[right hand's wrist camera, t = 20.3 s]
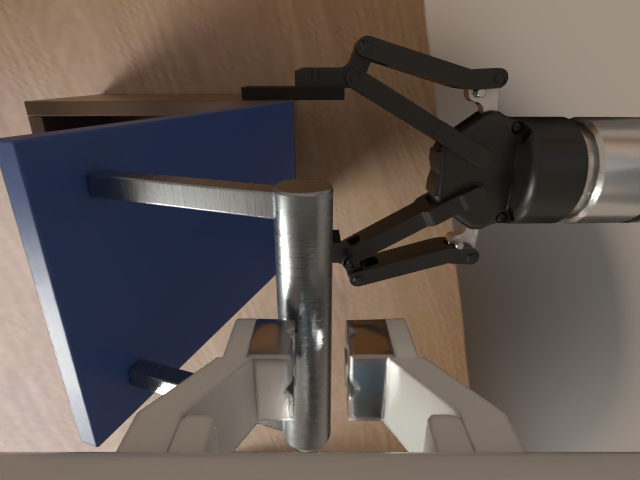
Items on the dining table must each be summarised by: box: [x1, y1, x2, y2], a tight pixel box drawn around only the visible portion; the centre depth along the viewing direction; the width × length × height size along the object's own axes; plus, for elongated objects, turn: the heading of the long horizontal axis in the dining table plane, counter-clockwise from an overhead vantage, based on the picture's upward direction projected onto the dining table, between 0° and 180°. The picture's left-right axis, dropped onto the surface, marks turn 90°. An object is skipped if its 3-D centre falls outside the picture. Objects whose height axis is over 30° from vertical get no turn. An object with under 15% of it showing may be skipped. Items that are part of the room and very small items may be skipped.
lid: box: [0, 101, 333, 452], centre depth 18 cm, size 17×10×8 cm
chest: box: [24, 94, 296, 179], centre depth 31 cm, size 16×10×10 cm, turn 90°
